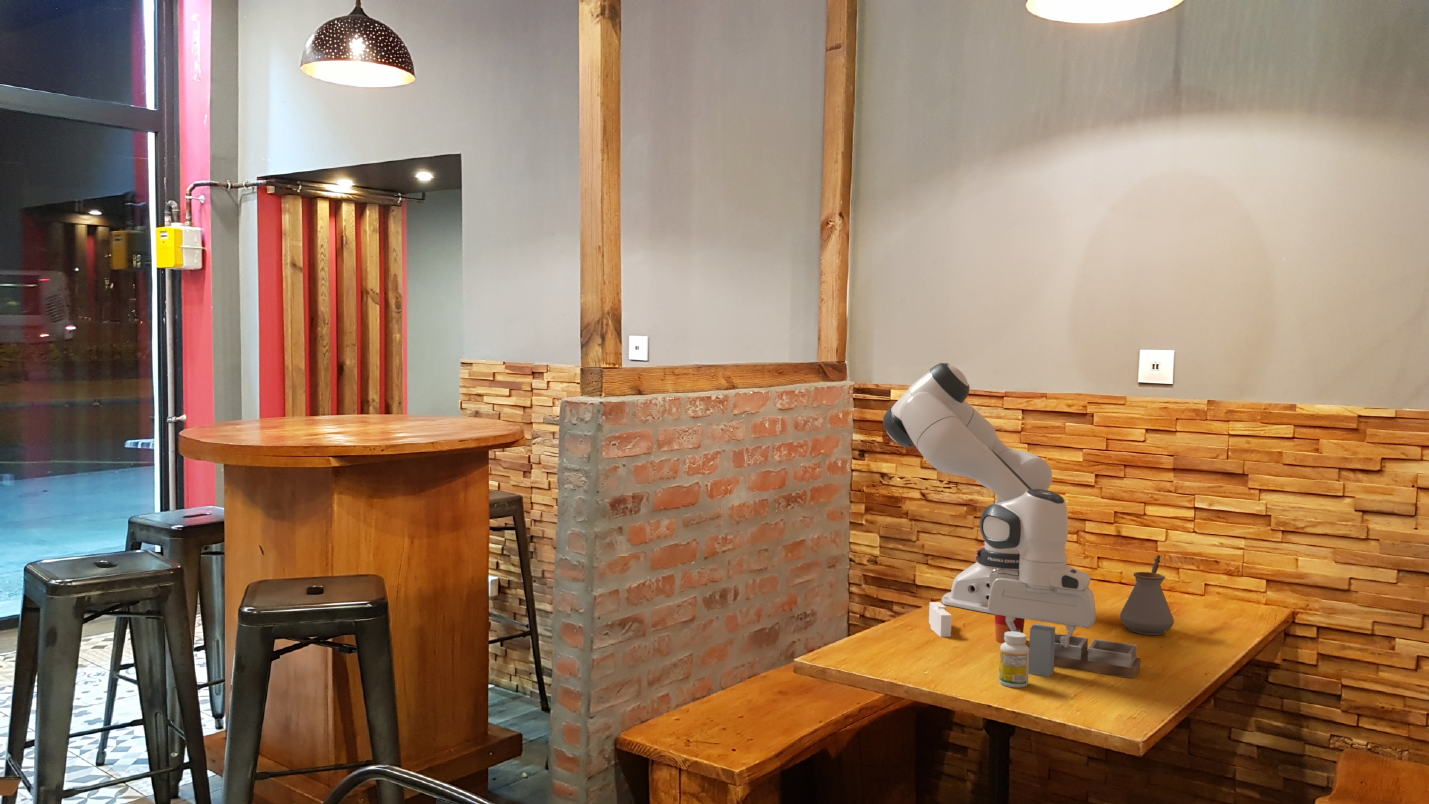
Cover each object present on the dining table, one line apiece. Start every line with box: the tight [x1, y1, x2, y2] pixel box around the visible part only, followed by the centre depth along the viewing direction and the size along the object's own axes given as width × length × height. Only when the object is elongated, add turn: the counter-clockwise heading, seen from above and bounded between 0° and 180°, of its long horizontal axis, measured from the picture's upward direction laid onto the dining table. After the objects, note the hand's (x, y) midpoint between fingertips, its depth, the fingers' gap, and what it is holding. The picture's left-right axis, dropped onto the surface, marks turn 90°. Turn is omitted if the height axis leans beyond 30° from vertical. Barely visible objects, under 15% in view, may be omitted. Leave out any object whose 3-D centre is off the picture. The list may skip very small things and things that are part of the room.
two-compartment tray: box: [1054, 632, 1142, 679], centre depth 212 cm, size 19×8×4 cm, turn 61°
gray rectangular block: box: [1028, 623, 1056, 678], centre depth 207 cm, size 4×4×9 cm
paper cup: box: [994, 614, 1026, 644], centre depth 229 cm, size 8×8×14 cm
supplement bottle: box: [998, 631, 1029, 689], centre depth 200 cm, size 5×5×10 cm
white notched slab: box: [928, 601, 953, 638], centre depth 237 cm, size 15×11×6 cm
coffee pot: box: [1119, 554, 1175, 636], centre depth 243 cm, size 21×12×15 cm, turn 149°
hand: (1039, 642), depth 207 cm, fingers open, 8 cm apart
